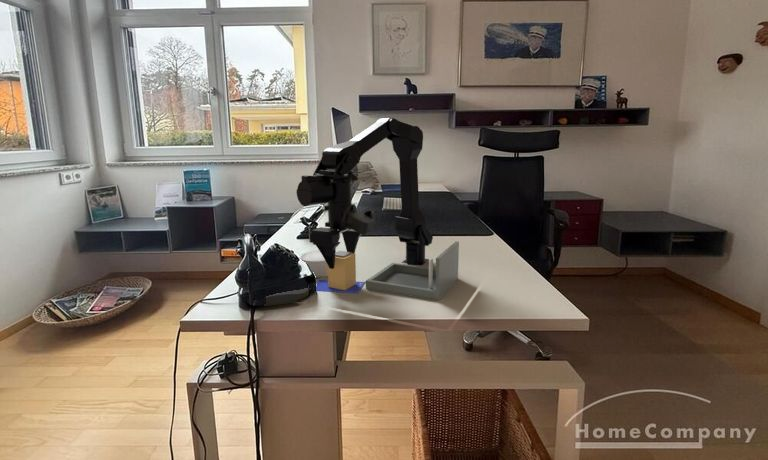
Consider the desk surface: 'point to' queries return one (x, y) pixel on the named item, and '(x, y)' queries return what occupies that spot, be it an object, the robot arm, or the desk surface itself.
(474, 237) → the desk surface
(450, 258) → the case
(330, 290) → the hard drive
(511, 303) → the desk surface
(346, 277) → the block
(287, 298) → the media streaming box
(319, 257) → the ramekin
